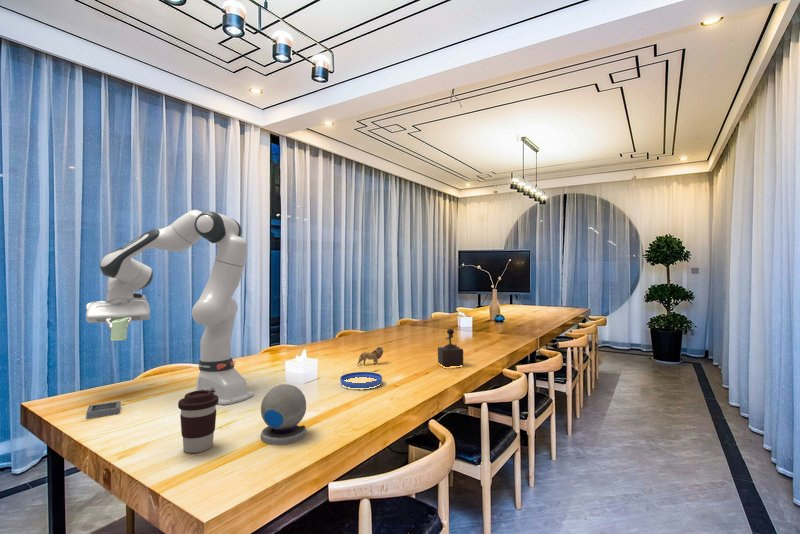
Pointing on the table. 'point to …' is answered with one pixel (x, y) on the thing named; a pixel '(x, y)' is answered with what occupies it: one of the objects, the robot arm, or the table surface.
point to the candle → (119, 329)
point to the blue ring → (361, 374)
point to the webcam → (283, 415)
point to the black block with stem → (450, 353)
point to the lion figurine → (371, 355)
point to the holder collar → (103, 409)
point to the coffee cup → (198, 420)
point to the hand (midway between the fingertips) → (118, 328)
